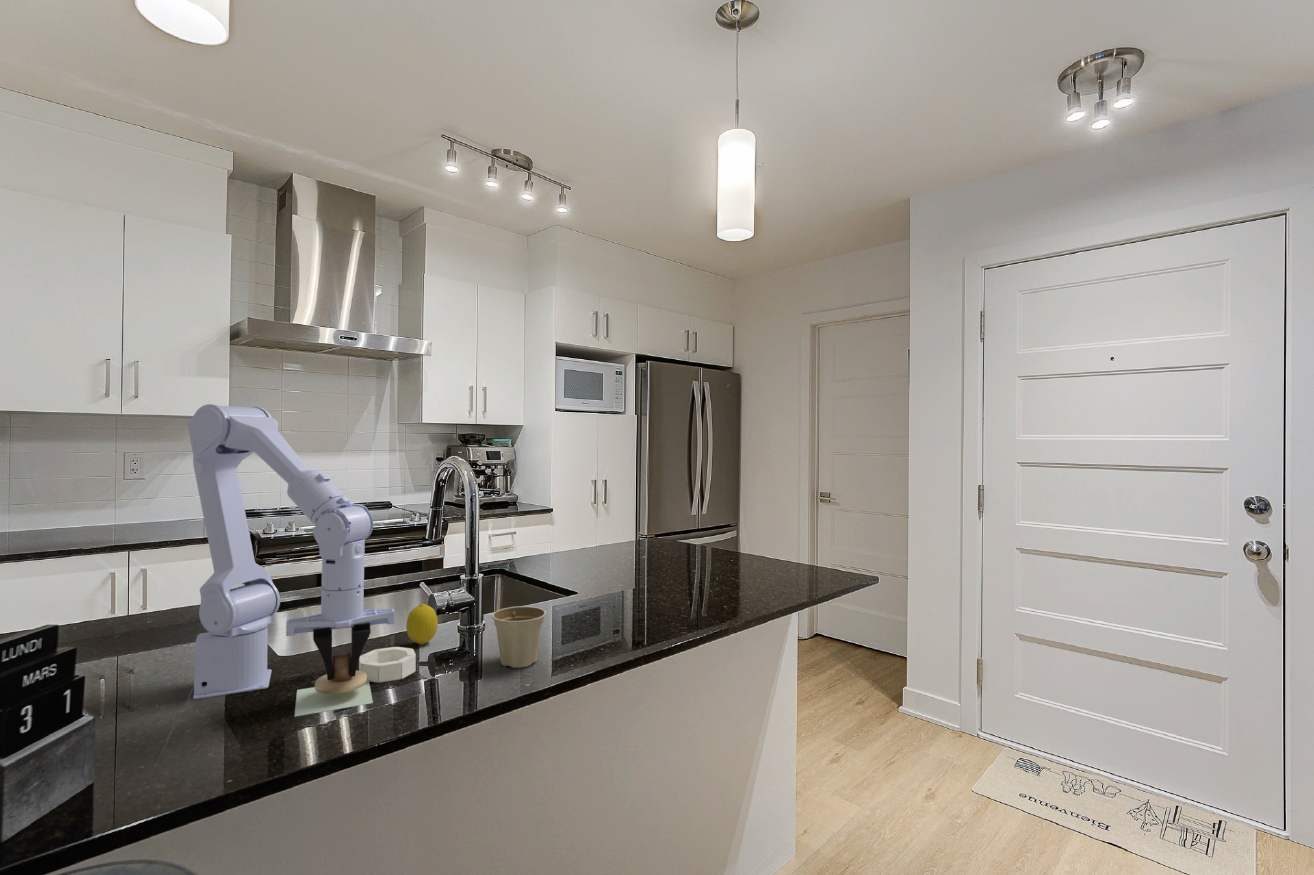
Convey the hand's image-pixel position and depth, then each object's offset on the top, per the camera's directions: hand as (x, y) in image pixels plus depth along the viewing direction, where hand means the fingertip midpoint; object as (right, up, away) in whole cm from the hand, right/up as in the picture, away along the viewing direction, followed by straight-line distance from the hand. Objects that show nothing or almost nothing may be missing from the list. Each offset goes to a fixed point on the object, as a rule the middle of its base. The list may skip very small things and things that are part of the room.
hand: (341, 676), depth 95 cm
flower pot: (+23, -4, +16) cm, 28 cm away
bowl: (+3, -3, +9) cm, 10 cm away
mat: (-1, -3, -1) cm, 3 cm away
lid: (0, -1, 0) cm, 1 cm away
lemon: (+3, -3, +23) cm, 24 cm away
